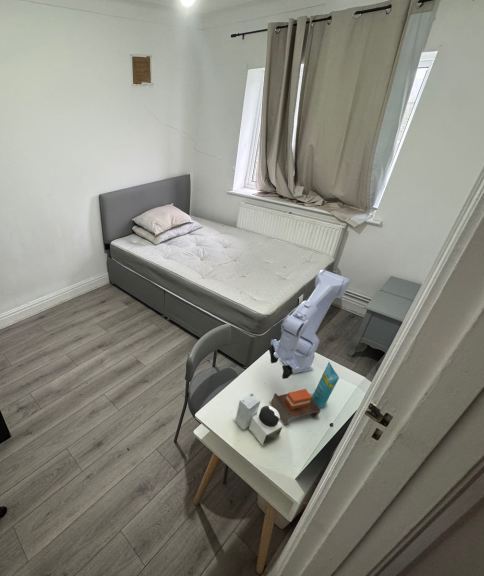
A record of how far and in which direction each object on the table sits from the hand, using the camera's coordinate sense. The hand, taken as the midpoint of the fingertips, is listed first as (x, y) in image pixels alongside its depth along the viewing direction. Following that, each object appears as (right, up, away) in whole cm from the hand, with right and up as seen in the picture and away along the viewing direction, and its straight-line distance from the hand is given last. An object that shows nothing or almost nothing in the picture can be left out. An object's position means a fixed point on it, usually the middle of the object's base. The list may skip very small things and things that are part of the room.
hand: (279, 369), depth 115 cm
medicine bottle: (-10, -20, -9) cm, 24 cm away
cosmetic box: (-15, -17, -6) cm, 24 cm away
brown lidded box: (+4, -14, -3) cm, 15 cm away
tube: (+14, -12, 0) cm, 19 cm away
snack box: (+4, -11, -5) cm, 13 cm away
